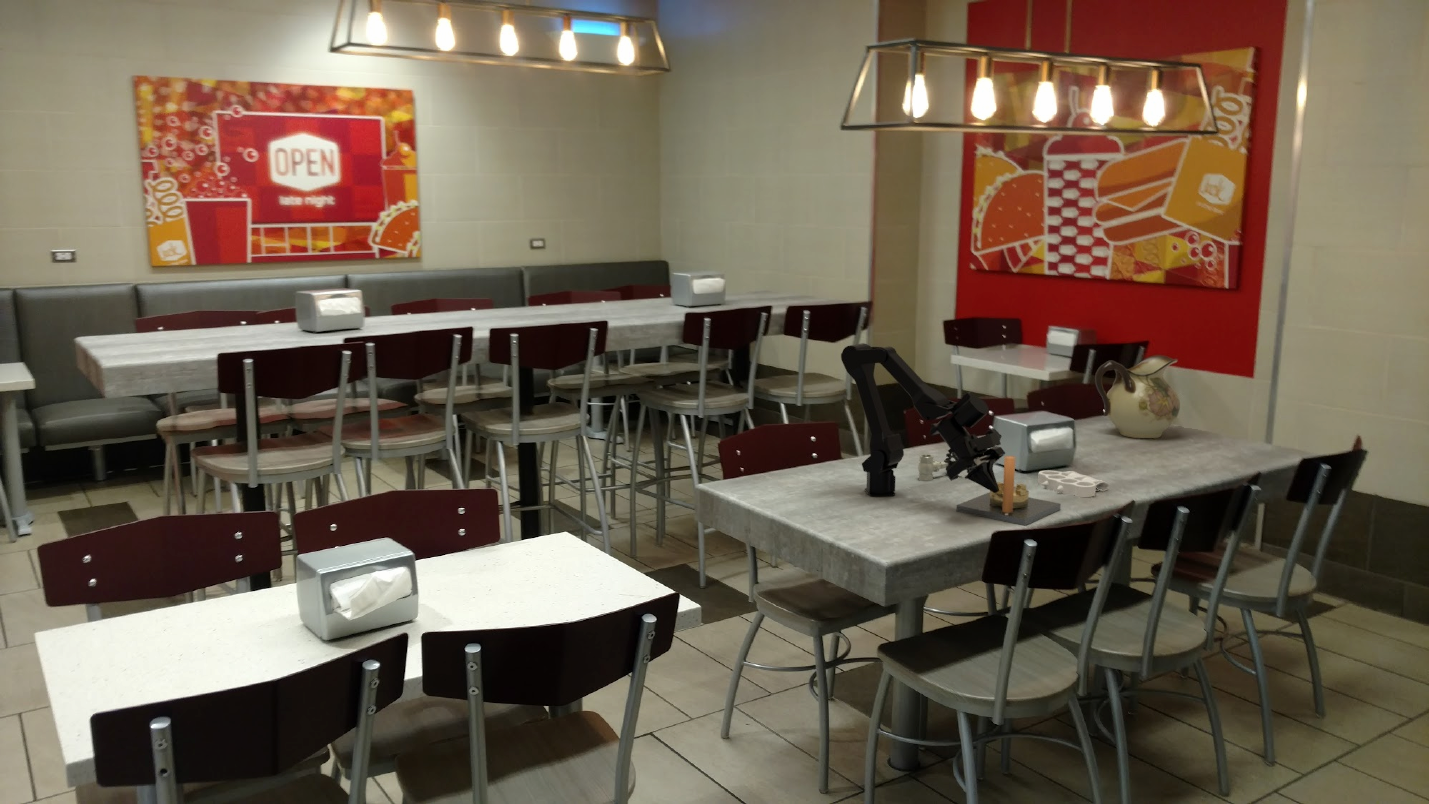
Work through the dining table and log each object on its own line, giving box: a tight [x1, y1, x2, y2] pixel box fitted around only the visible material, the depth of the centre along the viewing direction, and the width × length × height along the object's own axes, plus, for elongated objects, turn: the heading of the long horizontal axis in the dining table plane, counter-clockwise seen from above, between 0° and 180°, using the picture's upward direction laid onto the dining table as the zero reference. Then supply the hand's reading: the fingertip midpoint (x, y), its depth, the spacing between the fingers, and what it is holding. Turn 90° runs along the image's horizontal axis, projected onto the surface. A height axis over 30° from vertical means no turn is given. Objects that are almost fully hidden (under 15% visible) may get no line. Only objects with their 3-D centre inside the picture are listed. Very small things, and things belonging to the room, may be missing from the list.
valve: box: [917, 452, 958, 482], centre depth 295 cm, size 7×7×12 cm
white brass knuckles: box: [1037, 469, 1110, 497], centre depth 284 cm, size 3×18×15 cm
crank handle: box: [989, 455, 1030, 513], centre depth 260 cm, size 14×9×13 cm, turn 163°
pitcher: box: [1094, 354, 1181, 439], centre depth 345 cm, size 22×24×25 cm
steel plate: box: [956, 491, 1061, 527], centre depth 264 cm, size 18×18×2 cm
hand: (997, 491), depth 257 cm, fingers closed
